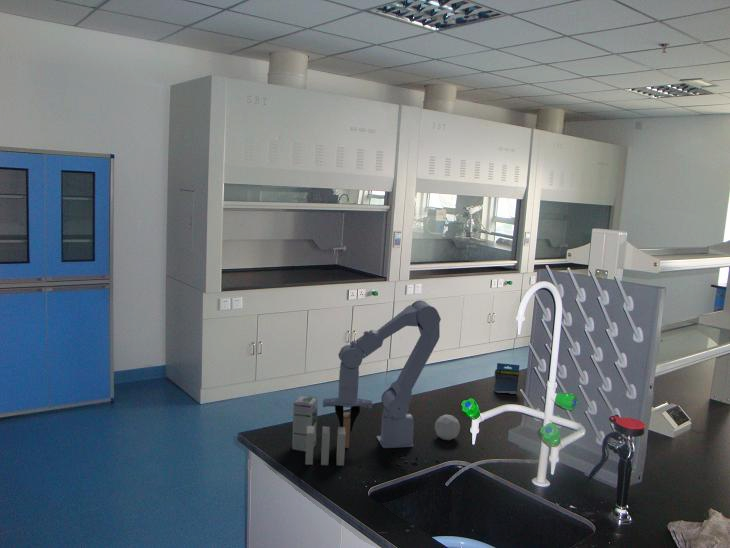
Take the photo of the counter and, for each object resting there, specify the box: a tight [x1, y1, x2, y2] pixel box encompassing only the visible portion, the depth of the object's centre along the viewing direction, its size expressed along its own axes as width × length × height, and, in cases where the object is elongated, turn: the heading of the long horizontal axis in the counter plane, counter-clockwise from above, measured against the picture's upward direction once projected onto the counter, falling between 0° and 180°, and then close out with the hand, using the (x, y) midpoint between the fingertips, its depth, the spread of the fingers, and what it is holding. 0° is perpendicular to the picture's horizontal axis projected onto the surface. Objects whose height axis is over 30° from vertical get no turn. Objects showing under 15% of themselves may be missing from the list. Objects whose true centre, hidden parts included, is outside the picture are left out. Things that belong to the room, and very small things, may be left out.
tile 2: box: [335, 426, 346, 466], centre depth 164 cm, size 2×5×9 cm, turn 4°
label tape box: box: [492, 362, 520, 393], centre depth 230 cm, size 9×4×12 cm, turn 85°
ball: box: [434, 413, 461, 441], centre depth 183 cm, size 8×8×8 cm
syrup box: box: [291, 395, 319, 452], centre depth 171 cm, size 6×6×14 cm
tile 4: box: [304, 426, 315, 466], centre depth 163 cm, size 2×5×9 cm, turn 4°
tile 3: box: [320, 425, 331, 466], centre depth 163 cm, size 2×5×9 cm, turn 4°
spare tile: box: [343, 411, 351, 449], centre depth 175 cm, size 2×5×9 cm, turn 4°
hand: (346, 430), depth 175 cm, fingers closed on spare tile, 2 cm apart
